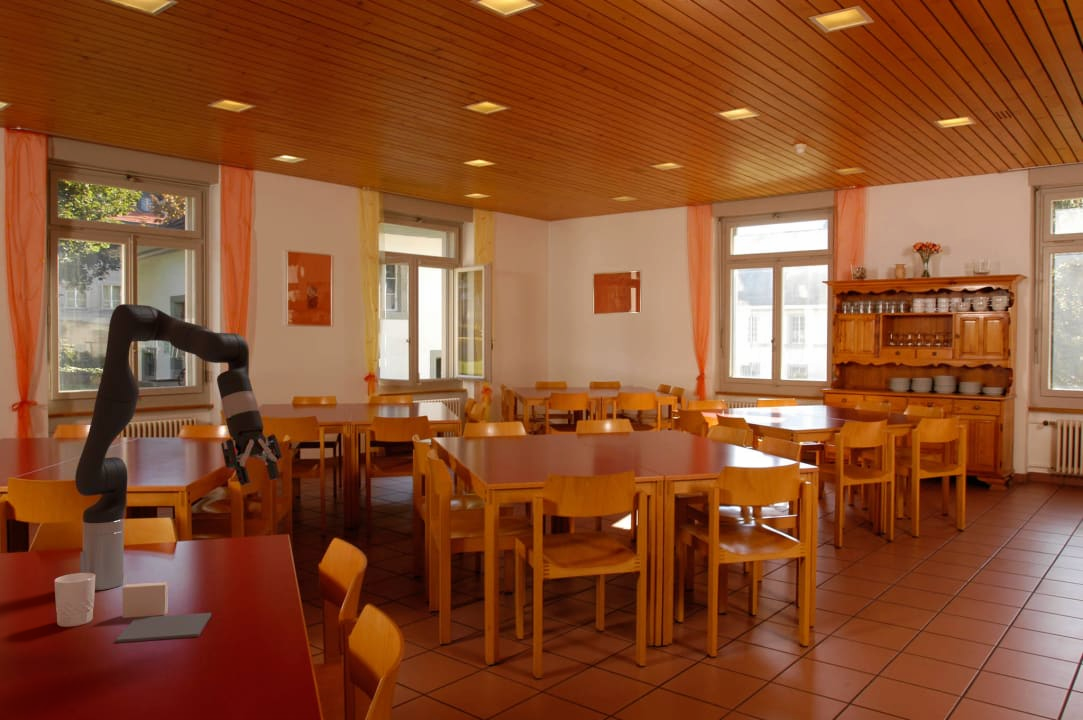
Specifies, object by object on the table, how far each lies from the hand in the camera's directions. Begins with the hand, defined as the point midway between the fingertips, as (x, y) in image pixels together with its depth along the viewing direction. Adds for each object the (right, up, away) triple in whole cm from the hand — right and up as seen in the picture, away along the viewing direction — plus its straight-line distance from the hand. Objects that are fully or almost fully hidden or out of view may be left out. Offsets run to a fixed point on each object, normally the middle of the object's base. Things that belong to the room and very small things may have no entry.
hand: (260, 481), depth 175 cm
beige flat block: (-28, -31, +3) cm, 42 cm away
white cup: (-41, -32, -2) cm, 52 cm away
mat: (-19, -31, -6) cm, 37 cm away
